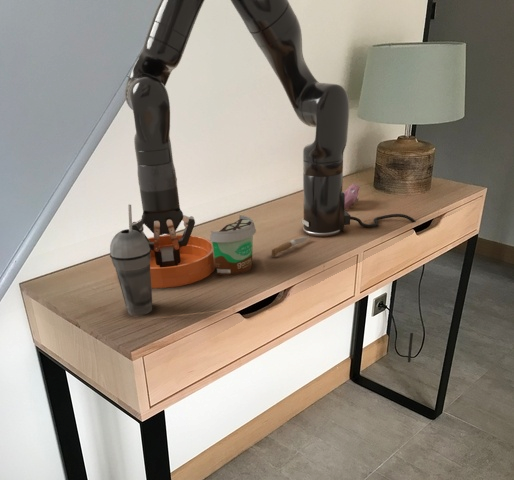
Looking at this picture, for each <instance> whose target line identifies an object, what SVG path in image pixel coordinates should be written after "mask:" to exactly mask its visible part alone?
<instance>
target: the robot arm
mask: <svg viewBox="0 0 514 480" xmlns="http://www.w3.org/2000/svg"><path fill="white" fill-rule="evenodd" d="M204 2H205V0H160V1H159V2H158V5H157V7H156V9H155V11H154V14H153V17H152V19H151V23H150V25H149V28H148V31H147V34H146V36H145V40H144V42H143V46H142V49H141V51H140V52H139V53H140V54H139V55H138V57H137V59H136V61H135V63H134V65H133V67H132V69H131V71H130V73H129V76H128V77H127V81H126V84H125V86H124V99H125V102H126V104H127V106H128V107H129V109H131V110H132V114H133V119H134V127H135V128H134V129H135V134H134V137H133V143H134V145H133V146H134V152H135V158H136V164H137V165H136V166H137V183H138V187H139V193H140V194H139V195H140V201H141V208H142V215H141V218H140V219H139V220H137V221H132V230H136V231H138V232H140V233H141V234H142V235H143V236H144V237H145V238H146V239H147V241H148V243H149V247H150V249H151V250H153V251H154V253H155V260H156V264H157V265H160V267H163V266H162V254H161V248H160V236H164V235H170V237H171V240H172V244H173V256H174V261H175V266H177V265H178V263H180V261H181V259H180V251H179V249H180V248H181V247H182V246H186V245H187V244H188V241H189V238H190V236H191V235H192V232H193V230H194V227H195V225H196V220H195V217H194V216H188V215H186V214H184V212H183V211H182V210H181V205H180V197H179V189H178V178H177V172H176V168H175V164H174V157H173V149H172V143H171V142H172V141H171V137H170V135H171V134H170V133H171V132H170V131H171V105H170V104H171V103H170V97H169V93H168V90H167V88H166V86H167V83H168V80H169V78H170V76H171V74H172V72H173V71H174V70H176V68H177V67H178V66H179V64H180V63H181V60H182V57H183V55H184V52H185V49H186V47H187V44H188V42H189V40H190V36H191V34H192V32H193V29H194V26H195V24H196V21H197V18H198V17H199V14H200V11H201V9H202V7H203V5H204ZM230 2H231V4H232V5H233V7H234V9H235V10H236V12H237V14H238V15H239V17H240V19H241V20H242V22H243V24H244V25H245V27H246V29H247V31H248V33H249V34H250V36H251V38H252V39H253V40H254V42H255V44H256V45H257V47H258V48H259V50H261V52H262V54H263V56H264V57H265V59H266V60H267V63H268V64H269V66H270V68H271V69H272V71H273V72H274V74H275V76H276V77H277V78H278V80H279V82H280V84H281V85H282V87H283V90H284V92H285V94H286V96H287V99H288V100H289V103H290V105H291V108H292V109H293V112H294V113H295V115H296V116H297V118H298V120H299V121H300V122H301V123H302V124H304V125H306V126H307V127H310V128H311V127H312V128H315V136H314V139H313V141H312V142H311V143H309V144H307V145H304V147H303V150H302V180H303V181H302V182H303V183H302V186H303V188H302V189H303V190H302V191H303V192H302V193H303V194H302V195H303V196H302V197H303V218H301V223H302V224H303V227H302V230H303V232H304V234H306V235H307V236H312V237H320V238H321V237H322V238H323V237H331V236H336V235H338V234H342V233H343V234H344V233H345V226H350V225H351V221H356V222H357V223H358V225H359V226H360V227H363V228H367V229H369V228H376V227H378V226H379V221H381V220H384V219H389V218H390V219H391V218H404V219H406V220H408V221H410V222H411V223H417V221H416V219H414V218H413V217H412V216H410V215H407V214H402V213H391V214H385V215H380V216H377V217H374V218H373V223H371V224H367V223H364V222H362V219H360V218H359V217H356V216H351V214H350V213H348V211H346V209H345V193H344V191H343V181H344V180H343V179H344V175H343V174H344V172H343V171H344V152H345V149H346V146H347V143H348V132H349V121H350V99H349V95H348V93H347V90H346V89H345V88H344V87H343V86H342V85H341V84H337V83H328V82H319V81H318V79H316V77H315V76H314V75H313V73H312V72H311V70H310V68H309V66H308V64H307V62H306V60H305V57H304V53H303V37H302V36H303V34H302V29H301V24H300V21H299V19H298V16H297V15H296V13H295V11H294V9H293V7H292V5H291V4H290V2H289V0H230ZM182 221H183V226H184V229H183V232H182V234H181V235H182V238H181V239H179V240H178V238H177V235H178V234H177V230H178V228H179V226H180V225H181V223H182ZM144 225H145V227H147V228H148V229H149V231H150V232H152V233H153V237H154V243H153V242H150V241H149V239H148V238H149V237H148V236H147V234H145V232H144V229H145V228H144ZM413 339H414V332H410V333H409V341H408V342H409V343H408V353H407V355H408V356H407V363H411V360H412V349H413Z"/></svg>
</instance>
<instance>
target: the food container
mask: <svg viewBox="0 0 514 480" xmlns="http://www.w3.org/2000/svg"><path fill="white" fill-rule="evenodd" d="M256 233H257V229H256V225H255V223H254V221H253V219H252V218H251V217H250V216H247V215H242V214H239V219H238V220H236V221H235V222H233V223H232V222H231V223H228V224H226V225H225V226H224V227H223V228H220V230H219V231H215V230H210V238H209V240H210V242H212V243H213V250H214V256H215V263H216V268H215V270H216V275H217V276H227V277H228V276H229V277H231V276H237V275H238V276H239V275H242V274H245V273H248V272H249V271H250V270H251V269H252V268H253V246H254V244H253V242H254V241H253V239H254V235H255V234H256Z"/></svg>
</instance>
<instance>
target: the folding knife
mask: <svg viewBox="0 0 514 480" xmlns="http://www.w3.org/2000/svg"><path fill="white" fill-rule="evenodd" d="M309 238H310V235H306V236H303V237H298V238H295V239H291V240H290V241H287V242H284V243H282V244H279V245H278V246H276V247H274V248H272V249H271V257H272V258H275V257H276V256H277V254H279V253H282V252H284V251H286V250H288V249H290V248H292V247H294V246H295V245H299V244H302V243H304V242H306V241H307V240H308V239H309Z"/></svg>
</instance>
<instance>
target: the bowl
mask: <svg viewBox="0 0 514 480" xmlns="http://www.w3.org/2000/svg"><path fill="white" fill-rule="evenodd" d="M182 235H183V234H177V238H178V240H179V239H181V238H182ZM147 238H148V239H149V241H150V242H153V243H154V236H152V237H147ZM170 246H173V244H172V240H171V237H170V234H169V235H168V234H163V235H160V248H161V247H170ZM179 251H180V259H181V261H180V263H178V265H177V266H171V267H160V265H157V264H156V260H155V253H154V251H153V250H151V253H150V254H151V262H150V273H151V289H167V288H175V287H180V286H181V287H182V286H186V285H191V284H193V283H196V282H199V281H201V280H204V279H205V278H207V277H209V276H210V275H211V274H212V273H214V272H215V271H216V263H215V256H214V250H213V243H212V242H210V239H207V238H205V237H202V236H198V235H194V234H191V236H190V238H189V241H188V244H187V245H186V246H182V247H181V248H180V249H179ZM161 254H162V253H161Z"/></svg>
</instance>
